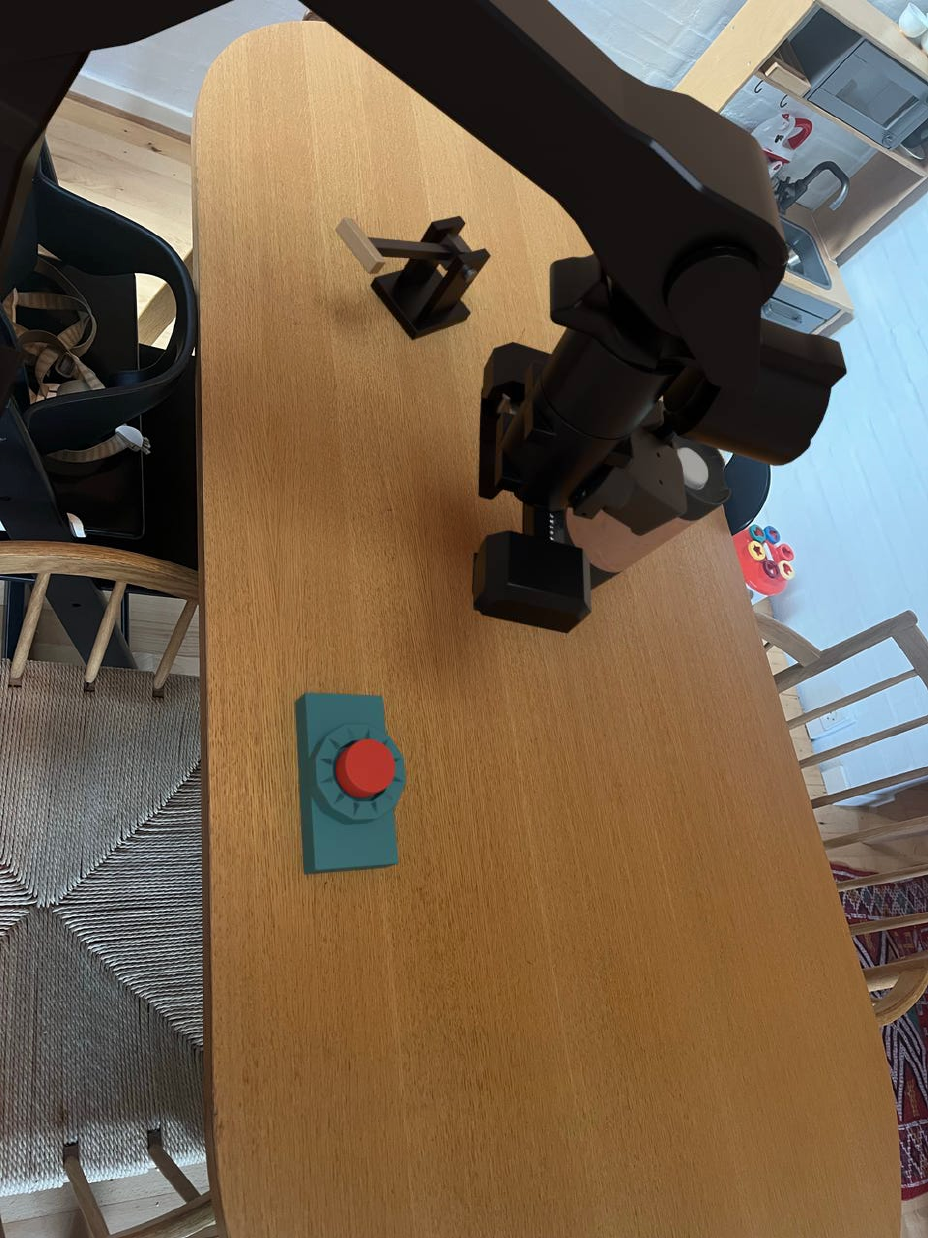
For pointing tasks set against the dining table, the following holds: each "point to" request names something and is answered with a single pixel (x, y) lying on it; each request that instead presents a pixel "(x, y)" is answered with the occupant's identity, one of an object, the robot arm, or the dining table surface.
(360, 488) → the dining table surface
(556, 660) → the dining table surface
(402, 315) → the switch bracket
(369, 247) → the lever
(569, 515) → the travel mug
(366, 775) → the button
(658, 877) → the dining table surface
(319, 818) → the button block
